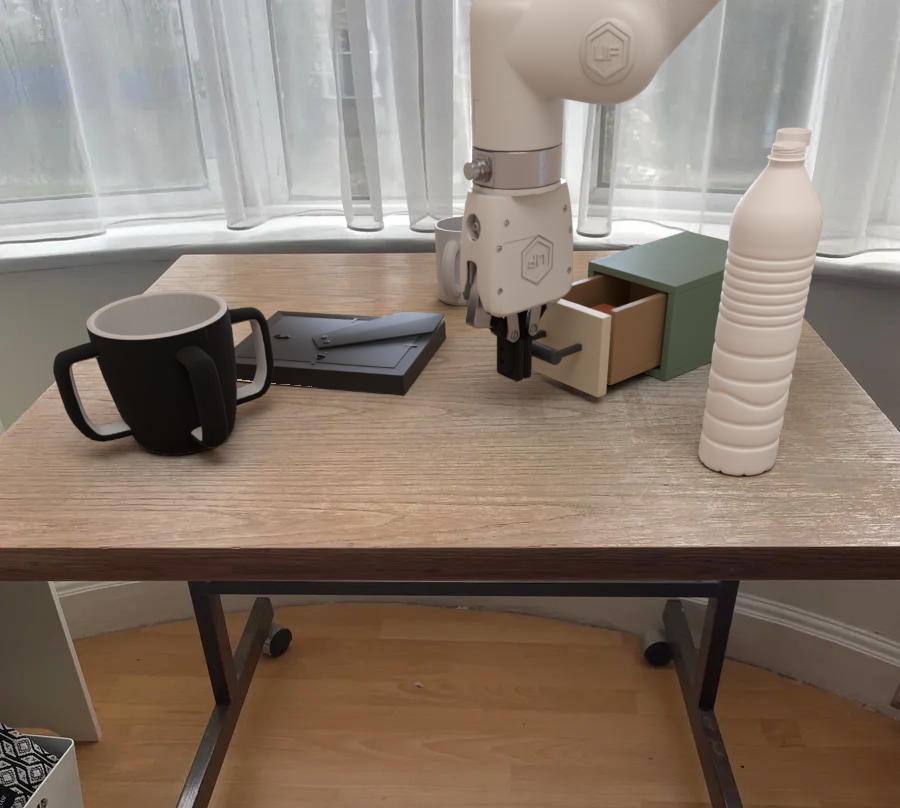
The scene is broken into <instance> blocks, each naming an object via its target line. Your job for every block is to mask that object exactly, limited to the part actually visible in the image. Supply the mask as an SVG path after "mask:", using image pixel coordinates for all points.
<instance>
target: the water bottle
mask: <svg viewBox="0 0 900 808" xmlns="http://www.w3.org/2000/svg"><path fill="white" fill-rule="evenodd" d="M812 133H813V131H812V129H809V128H806V127H805V128H804V127H783V128H779V129H776V132H775V138H774V139H775V140H774V142H773V143H772V144H771V146H772V147H771V150H770V154H768V155H767V156H766V158H767V159H768V163H767V165H766V166H765V168H763V170H762V171H761V172H760V174H759V175H758V176H757V178H756V179H755V180H754V181H753V182H752V184H751V185H750V186H749V188H747V189H746V191H745V193H744V194H743V195H742V196H741V197H740V199H739V201H738V202H737V203H736V206H735V207H734V209H733V212H732V215H731V218H730V223H729V231H728V240H727V241H728V246H729V247H728V249H727V259H726V262H725V271H724V280H723V284H722V292H721V301H720V305H719V313H718V318H717V324H716V330H715V340H716V341H715V343H714V346H713V351H712V361H711V366H710V369H709V374H708V382H707V383H708V384H707V385H708V388H707V391H706V395H705V408H704V412H703V416H702V429H701V432H700V436H699V443H698V452H697V453H698V459H699V460H700V461H701V463H703V465H705V467H707V468H708V469H710V470H712V471H715V472H720V471H721V473H722V474H724V475H729V476H743V475H745V476H755V475H760V474H762V473H764V472H766V471H769V470H770V469H771V468H772V467H774V465H775V463H776V460H777V456H778V451H779V445H780V435H781V433H782V431H783V430H782V429H783V425H784V420H785V419H784V417H785V415H784V413H785V411H786V408H787V404H788V399H789V395H790V386H791V384H792V380H793V371H794V368H795V364H796V360H797V354H798V349H797V347H798V346H799V343H800V339H801V336H802V329H803V322H804V316H805V313H806V305H807V302H808V296H809V292H810V284H811V282H812V278H813V277H812V273H813V271H814V267H815V261H816V257H817V250H818V247H819V243H820V239H821V235H822V230H823V225H824V210H823V206H822V203H821V200H820V198H819V195H818V193H817V190H816V188H815V187H814V184H813V181H812V180H811V178H810V176H809V174H808V172H807V169H806V167H805V161H806V160H807V159H808V155H806V153H807V152H806V150H807V147H808V146H810V143H811V137H812Z"/></svg>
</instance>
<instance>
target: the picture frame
mask: <svg viewBox="0 0 900 808" xmlns="http://www.w3.org/2000/svg"><path fill="white" fill-rule="evenodd" d="M445 316H446V314H445V313H435V312H433V313H432V312H416V311H415V312H413V311H399V312H396V313H393V314H390V315H389V314H388V315H386V316H378V315H377V316H375V315H361V314H360V315H359V314H358V315H357V314H341V313H322V312H309V311H288V310H276V312H275V313H273V314H272V315H271V316H270V317H268V319H266V320H267V322H268V327H269V331H270V337H271V343H272V350H273V359H274V371H273V377H272V381H271V383H276V384H290V385H301V386H310V387H311V386H312V387H317V388H316V389H322V388H326V389H325V390H337V391H348V392H359V393H360V392H362V393H374V394H375V393H376V394H387V395H398V396H399V395H400V396H405V395H406V393H407V392H408V391H409V389H410V388H411V387H412V386H413V384H414V383H415V381H416V380H417V379H418V378H419V376H420V374H421V373H422V372H423V371H424V369H425V367H426V366H427V365H428V363H429V362H430V361H431V359H432V358H433V356H434V355H435V354H436V352H437V351H438V350H439V348H440V347H441V345H442V344H443V343H444V341H445V340H446V338H447V332H446V331H447V330H446V329H447V328H446V320H445V319H444V318H445ZM234 348H235V356H236V379H242V380H250V381H253V380H254V378H255V375H256V370H257V360H256V351H255V343H254V338H253V333H252V332H251V333H249V334H248V335H247V336H246V337H245V338H243V340H241V341H240V342H239V343H238V344H236V345H234ZM310 387H309V388H310Z"/></svg>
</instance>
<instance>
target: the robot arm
mask: <svg viewBox="0 0 900 808" xmlns="http://www.w3.org/2000/svg"><path fill="white" fill-rule="evenodd" d="M721 1H722V0H473V1H472V3H471V6H470V8H469V14H468V48H469V49H468V51H469V52H468V53H469V106H470V107H469V109H470V161H468V162H465V164H464V165H463V171H462V172H463V175H464V178H465V179H466V180H468V181H471V187H470V188H468V189H467V190H466V196H465V200H464V201H465V202H464V206H463V207H464V208H463V215H462V216H463V223H462V233H461V250H460V285H461V295H462V300H463V303H464V304H465V305H467V308H466V315H465V325H467V326H469V327H472V328H474V329H480V330H482V329H484V330H485V329H488V330H490V333H491V335H493V336H496V372H497V374H498V375H500V376H502V377H505V378H507V379H509V380H512V381H514V382H516V383H518V382H521V381H523V380H524V379H525V380H526V379H529V378H531V377H532V370H531V369H532V336H534V335H535V334H536V333H537V331H538V328H539V320H540V319H541V317H542V315H543V314H544V312H545V310H546V309H548V308H550V307H551V306H553V305H554V304H556V303H557V302H558V301H559V300H560V299H561V298H562V297H563V296H565V295H566V294H567V293H568V292H569V291H570V289H571V286H572V283H573V281H574V279H573V278H574V225H573V224H574V223H573V211H572V204H571V203H572V202H571V195H570V191H569V185H568V181H567V180H566V179H565V178H562V166H563V165H562V162H563V130H564V103H565V100H568V101H573V102H579V103H585V104H589V105H590V104H591V105H597V106H616V105H620V104H624V103H626V102H629V101H631V100H633V99H635V98H636V97H638V96H639V95H640V94H641V93H643V92H644V91H645V90H646V89H647V88H648V86H650V84H651V83H652V81H653V79H654V78H655V76H656V75H657V74H658V71H659V70H660V67H662V65H663V64H664V63H665V62H666V60H667V59H668V58H669V57H670V56H671V55H672V53H674V51H675V50H676V49H677V48H678V47H679V46H680V45H681V43H683V41H684V40H685V39H687V37H688V36H689V35H690V34H691V33H692V32H693V31H694V30H695V29H696V27H697V26H698V25H699V24H700V23H702V21H703V20H704V19H705V18H706V16H708V15H709V13H710V12H711V11H712V10H714V9H715V7H716V6H717V5H718V4H720V2H721Z"/></svg>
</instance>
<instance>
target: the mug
mask: <svg viewBox="0 0 900 808" xmlns="http://www.w3.org/2000/svg"><path fill="white" fill-rule="evenodd" d="M267 320H268V319H267V318H266V316H265V315H264V314H263V313H262V311H261V310H260V309H258V308H256V307H254V306H245V307H238V308H229V305H228V303H227V302H226V301H225V300H224V299H223V298H221V297H220V296H218V295H216V294H213V293H208V292H204V291H196V290H163V291H154V292H147V293H142V294H137V295H136V294H135V295H133V296H129V297H126V298H122V299H119V300H116V301H113V302H110V303H108V304H106V305H104V306H102V307H101V308H99V309H97V310H95V311H94V312H93V313H92V314H91V315H90V316H89V317H88V318H87V320H86V324H85V326H86V330H87V334H88V338H89V342H86V343H81V344H78V345H76V346H73V347H70V348H68V349H65V350H62V351H59V352H58V353H57V354H56V355H55V357H54V360H53V366H52V372H53V376H54V380H55V382H56V383H55V384H56V386H57V389H58V393H59V396H60V398H61V401H62V404H63V407H64V410H65V412H66V415H67V416H68V418H69V420H70V421H71V423H72V424H73V425H74V427H75V428H76V429H77V430H78V431H79V432H80V433H81V435H83V436H84V437H85V438H87V439H89V440H90V441H94V442H101V443H105V442H110V441H111V442H112V441H116V440H120V439H124V438H129V437H133V439H134V440H135V442H136V443H137V444H138V445H139V447H141V448H143V449H144V450H146V451H148V452H151V453H155V454H160V455H185V454H192V453H197V452H200V451H203V450H207V449H213V448H217V447H219V446H222V445H223V444H224V443H225V442H226V441H228V437H229V436H230V435H231V433H232V432H233V430H234V428H235V423H236V419H237V407H238V406H240V405H244V404H247V403H249V402H252V401H255V400H258V399H260V398H261V397H263V396H264V395H266V393H267V392H268V390H269V389H270V387H271V385H272V384H271V381H272V377H273V371H274V359H273V350H272V343H271V337H270V331H269V327H268V322H267ZM246 322H249V325H250V330H251V333H253V338H254V343H255V351H256V360H257V370H256V375H255V378H254V380H253V382H252V383H249V384H247V385H245V386H241V387H238V382H237V379H236V356H235V348H234V347H235V340H234V332H233V331H234V330H233V325H236V324H240V323H246ZM93 359H95V360H96V362H97V365H98V367H99V369H100V372H101V376H102V378H103V381H104V382H105V385H106V388H107V389H108V391H109V393H110V396H111V398H112V401H113V403H114V405H115V408H116V409H117V412H118V413H119V415H120V417H121V419H122V420H120V421H116V422H111V423H108V424H102V425H98V424H96V423H94V422H93V421H92V420H91V419H90V417H89V416H88V414H87V413H86V409H85V408H84V406H83V402H82V400H81V397H80V394H79V391H78V387H77V384H76V381H75V377H74V376H75V375H74V371H73V366H74V364H77V363H80V362H81V363H82V362H85V361H89V360H93Z"/></svg>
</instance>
